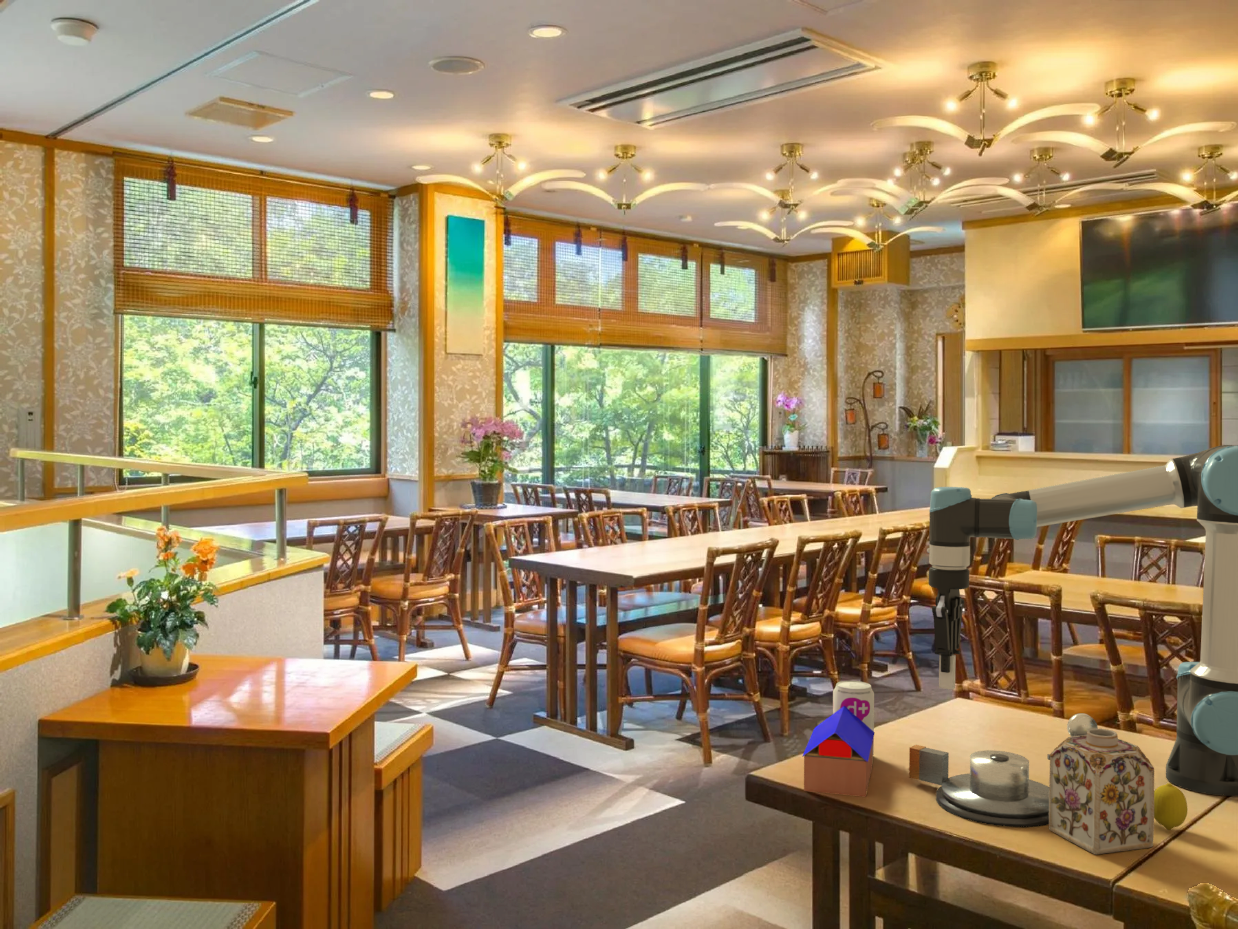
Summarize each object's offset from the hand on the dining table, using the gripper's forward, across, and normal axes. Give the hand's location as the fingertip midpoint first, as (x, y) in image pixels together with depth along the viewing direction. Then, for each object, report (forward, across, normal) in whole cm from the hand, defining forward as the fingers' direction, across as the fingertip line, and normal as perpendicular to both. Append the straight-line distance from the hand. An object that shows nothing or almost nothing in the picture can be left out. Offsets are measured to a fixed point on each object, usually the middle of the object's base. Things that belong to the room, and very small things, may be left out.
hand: (946, 687), depth 209 cm
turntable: (+16, +9, +9) cm, 21 cm away
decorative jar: (+18, +17, +31) cm, 39 cm away
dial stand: (+17, +1, +23) cm, 29 cm away
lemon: (+18, +6, +40) cm, 44 cm away
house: (+18, +12, -17) cm, 27 cm away
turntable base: (+18, +10, +13) cm, 24 cm away
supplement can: (+18, -2, -20) cm, 27 cm away
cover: (+15, +10, +13) cm, 22 cm away
